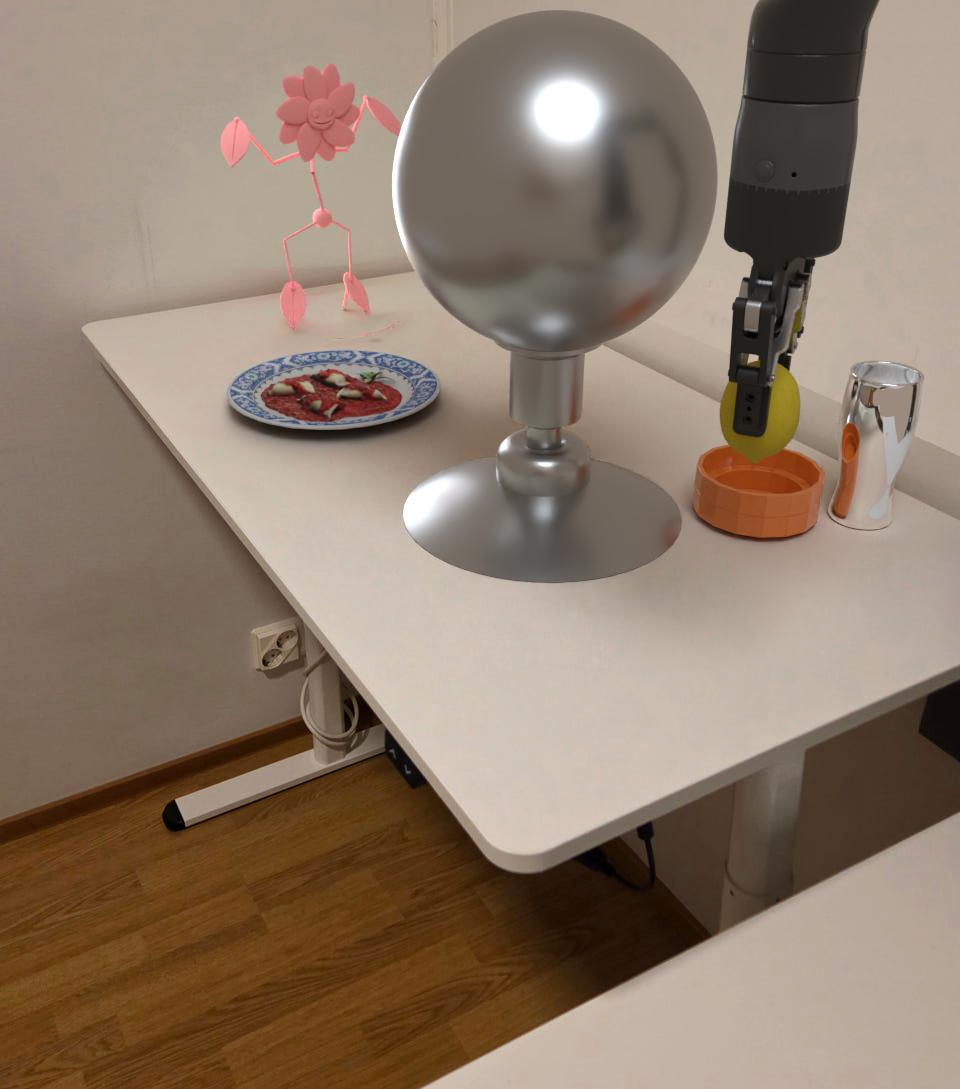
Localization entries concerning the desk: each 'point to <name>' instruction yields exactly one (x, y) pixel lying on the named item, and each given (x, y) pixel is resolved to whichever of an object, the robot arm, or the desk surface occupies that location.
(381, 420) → the ceramic plate
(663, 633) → the desk surface
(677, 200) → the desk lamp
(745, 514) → the bowl
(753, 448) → the lemon
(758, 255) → the robot arm
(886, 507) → the beer glass
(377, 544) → the desk surface
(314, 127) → the figurine
